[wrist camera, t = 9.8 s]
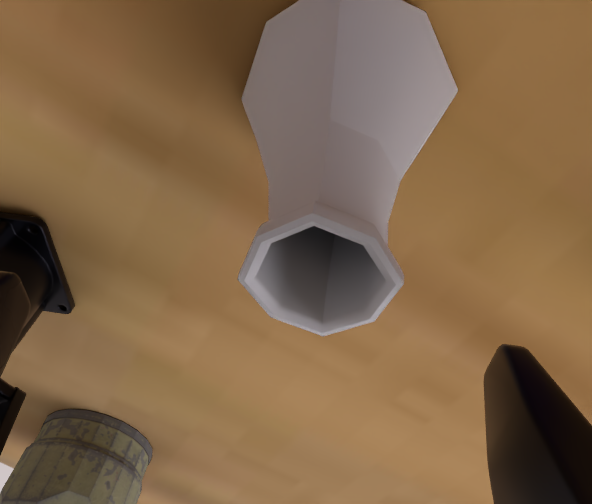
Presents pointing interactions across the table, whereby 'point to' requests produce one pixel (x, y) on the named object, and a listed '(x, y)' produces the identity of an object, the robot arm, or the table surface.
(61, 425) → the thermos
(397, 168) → the flask
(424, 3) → the table surface
